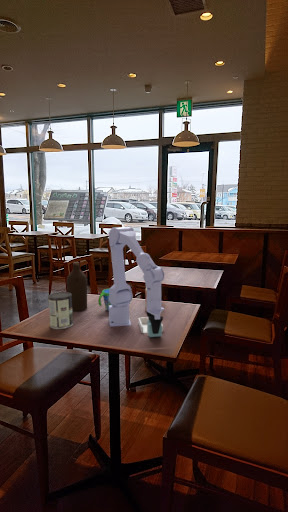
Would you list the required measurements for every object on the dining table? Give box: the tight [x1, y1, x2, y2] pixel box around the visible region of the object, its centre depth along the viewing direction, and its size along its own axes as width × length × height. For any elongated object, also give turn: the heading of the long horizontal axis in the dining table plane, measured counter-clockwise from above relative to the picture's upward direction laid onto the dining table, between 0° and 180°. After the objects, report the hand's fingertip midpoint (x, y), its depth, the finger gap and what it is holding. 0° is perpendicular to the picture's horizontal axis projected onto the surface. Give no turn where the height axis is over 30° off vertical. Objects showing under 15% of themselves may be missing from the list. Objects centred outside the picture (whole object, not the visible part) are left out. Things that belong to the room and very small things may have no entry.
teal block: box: [147, 320, 163, 338], centre depth 126 cm, size 5×5×5 cm
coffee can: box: [47, 291, 74, 330], centre depth 141 cm, size 10×10×14 cm
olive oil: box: [66, 261, 88, 313], centre depth 163 cm, size 11×11×25 cm
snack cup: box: [98, 287, 111, 312], centre depth 163 cm, size 16×10×10 cm
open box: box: [137, 316, 164, 334], centre depth 136 cm, size 9×12×3 cm
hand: (154, 330), depth 126 cm, fingers closed on teal block, 5 cm apart
